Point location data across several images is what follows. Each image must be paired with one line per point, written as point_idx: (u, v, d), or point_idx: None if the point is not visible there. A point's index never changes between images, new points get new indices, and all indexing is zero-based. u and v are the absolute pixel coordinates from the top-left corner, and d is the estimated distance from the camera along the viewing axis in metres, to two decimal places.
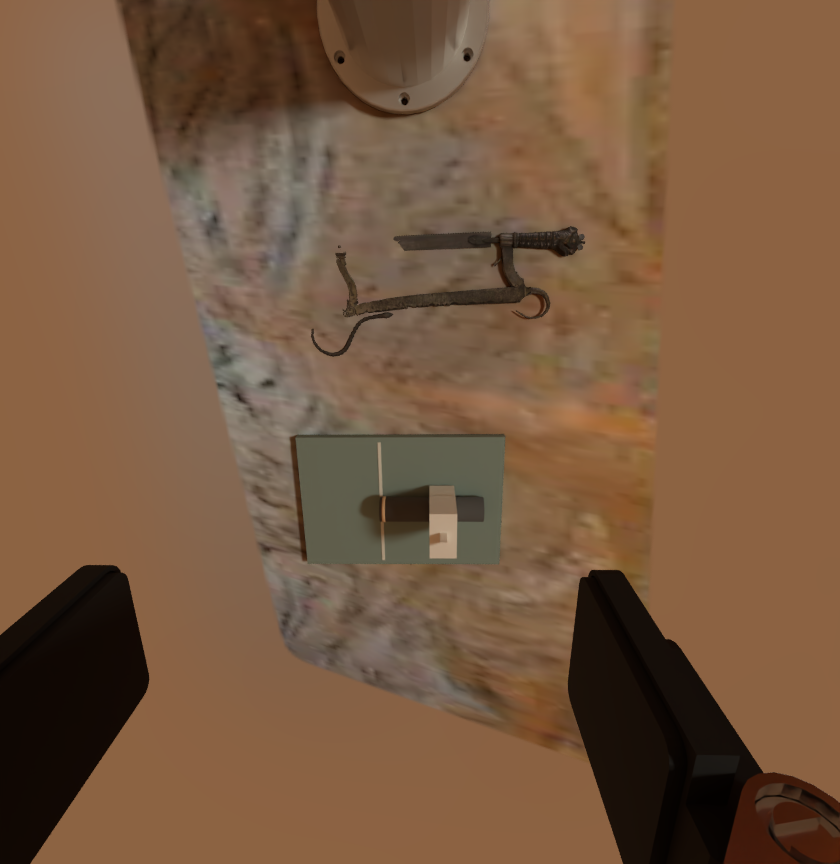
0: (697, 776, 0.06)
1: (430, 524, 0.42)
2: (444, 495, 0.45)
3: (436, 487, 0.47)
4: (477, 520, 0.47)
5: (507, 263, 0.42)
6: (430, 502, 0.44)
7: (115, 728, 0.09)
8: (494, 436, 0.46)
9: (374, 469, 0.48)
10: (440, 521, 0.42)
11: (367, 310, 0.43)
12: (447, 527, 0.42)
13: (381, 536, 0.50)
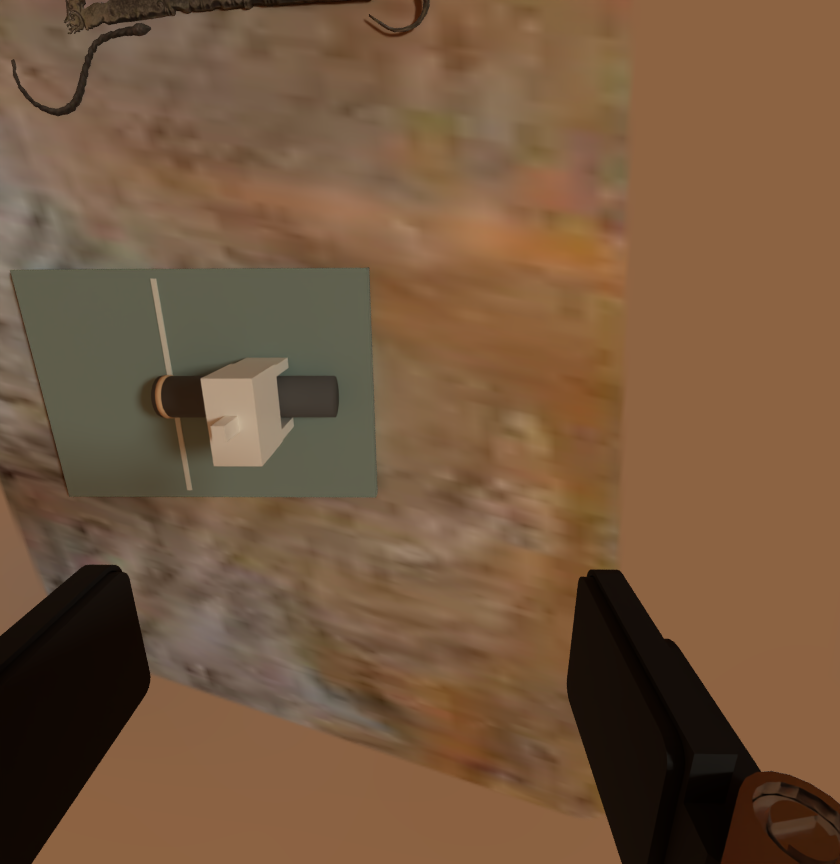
0: (695, 775, 0.06)
1: (205, 399, 0.23)
2: (255, 363, 0.26)
3: (255, 358, 0.28)
4: (321, 413, 0.27)
5: None
6: (221, 369, 0.25)
7: (117, 727, 0.09)
8: None
9: (152, 329, 0.28)
10: (223, 393, 0.23)
11: (103, 18, 0.24)
12: (238, 406, 0.23)
13: (181, 450, 0.31)
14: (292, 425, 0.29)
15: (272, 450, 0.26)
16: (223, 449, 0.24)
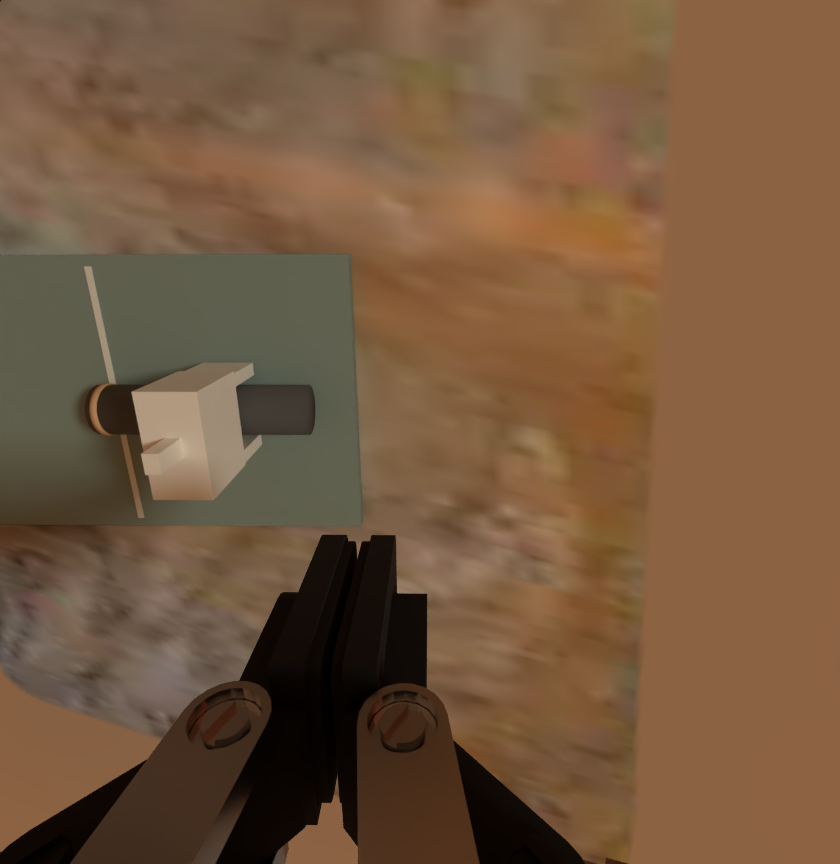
0: (349, 687, 0.07)
1: (139, 417, 0.18)
2: (210, 371, 0.21)
3: (213, 364, 0.23)
4: (293, 430, 0.23)
5: None
6: (164, 378, 0.20)
7: None
8: (326, 254, 0.22)
9: (89, 328, 0.23)
10: (160, 410, 0.18)
11: None
12: (180, 426, 0.18)
13: (130, 471, 0.26)
14: (259, 443, 0.25)
15: (229, 477, 0.21)
16: (164, 479, 0.19)
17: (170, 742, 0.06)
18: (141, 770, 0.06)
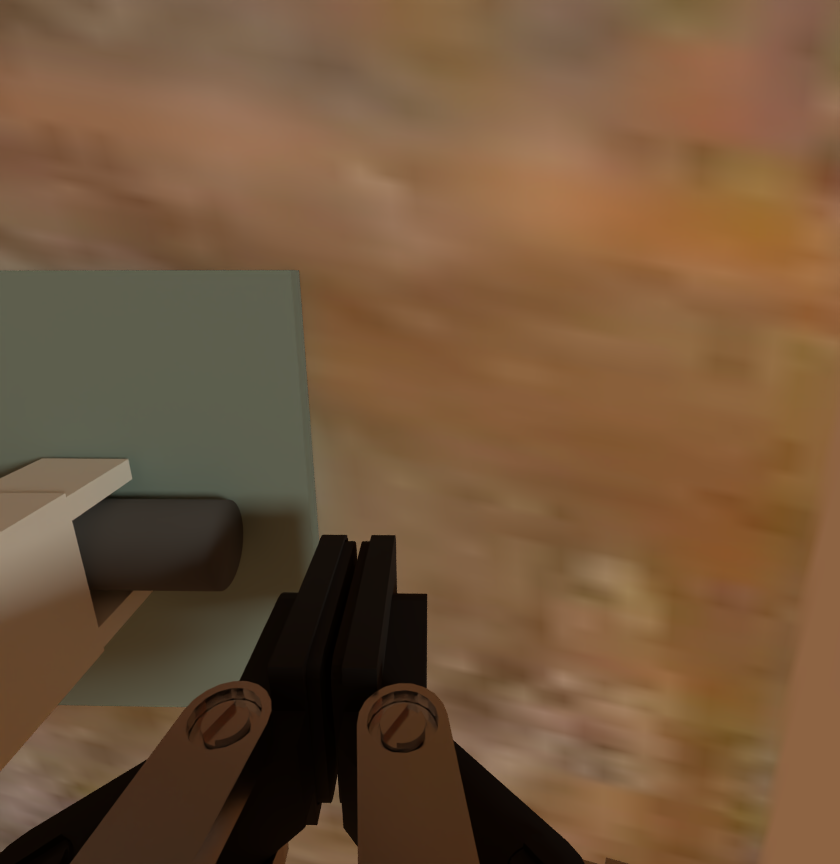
0: (349, 687, 0.07)
1: None
2: (20, 492, 0.11)
3: (56, 463, 0.13)
4: (190, 588, 0.12)
5: None
6: None
7: None
8: (252, 270, 0.12)
9: None
10: None
11: None
12: None
13: None
14: None
15: (47, 707, 0.11)
16: None
17: (170, 742, 0.06)
18: (141, 770, 0.06)
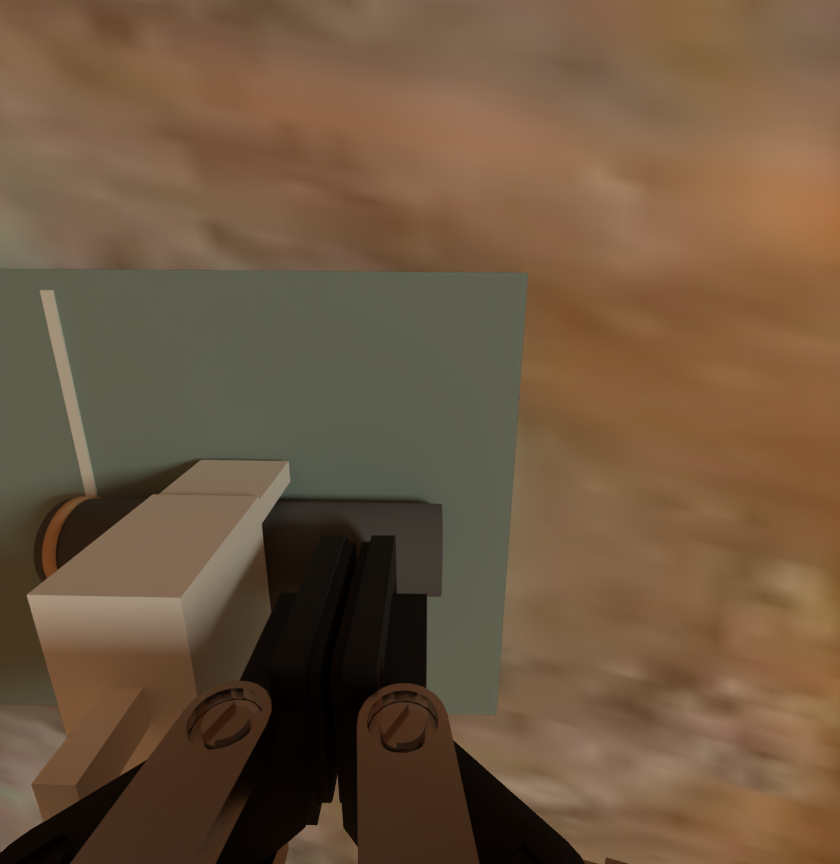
0: (349, 687, 0.07)
1: (46, 647, 0.08)
2: (213, 495, 0.11)
3: (219, 465, 0.13)
4: (417, 593, 0.12)
5: None
6: (118, 525, 0.10)
7: None
8: None
9: (49, 398, 0.13)
10: (97, 633, 0.08)
11: None
12: (143, 666, 0.08)
13: None
14: None
15: None
16: None
17: (170, 742, 0.06)
18: (141, 770, 0.06)
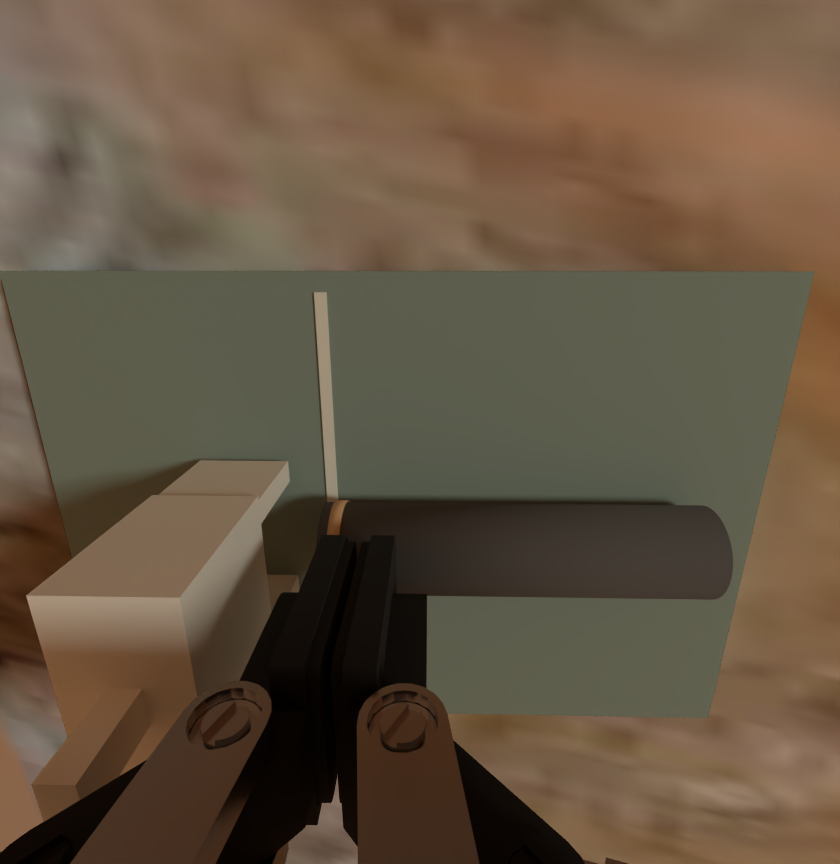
0: (349, 687, 0.07)
1: (46, 648, 0.08)
2: (213, 495, 0.11)
3: (219, 465, 0.13)
4: (695, 596, 0.12)
5: None
6: (118, 525, 0.10)
7: None
8: None
9: (305, 401, 0.13)
10: (96, 633, 0.08)
11: None
12: (142, 666, 0.08)
13: None
14: None
15: None
16: None
17: (170, 742, 0.06)
18: (141, 770, 0.06)
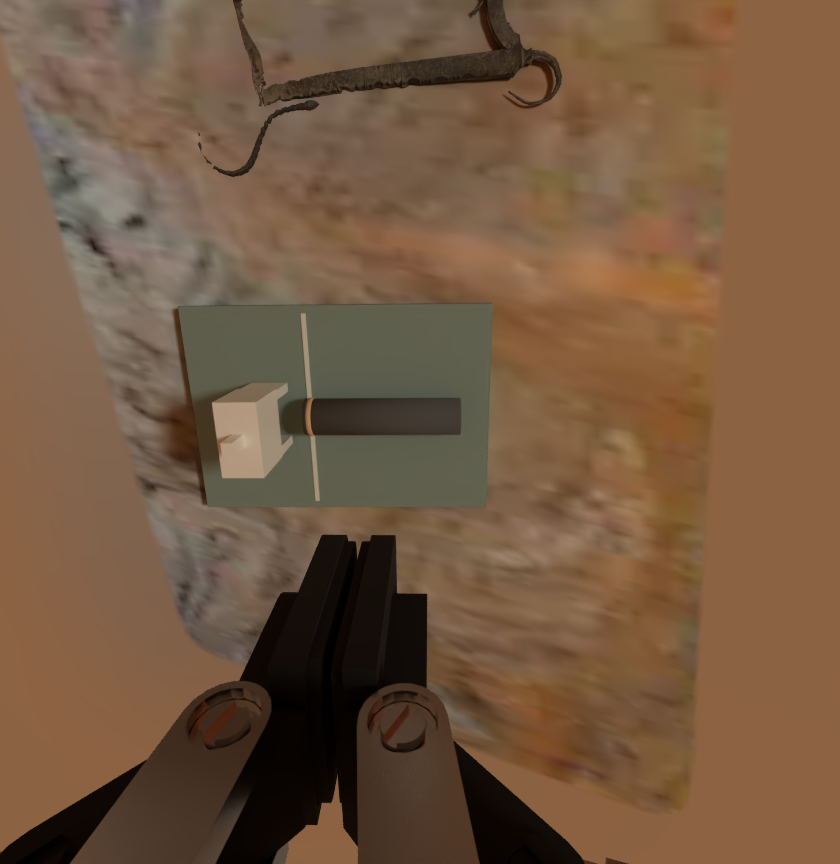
0: (349, 687, 0.07)
1: (215, 420, 0.27)
2: (259, 388, 0.30)
3: (259, 384, 0.32)
4: (451, 430, 0.31)
5: (494, 6, 0.26)
6: (229, 393, 0.28)
7: None
8: (476, 303, 0.31)
9: (297, 357, 0.32)
10: (231, 415, 0.27)
11: (280, 97, 0.28)
12: (243, 426, 0.27)
13: (313, 464, 0.34)
14: (291, 442, 0.33)
15: (273, 464, 0.29)
16: (230, 463, 0.27)
17: (170, 742, 0.06)
18: (141, 770, 0.06)
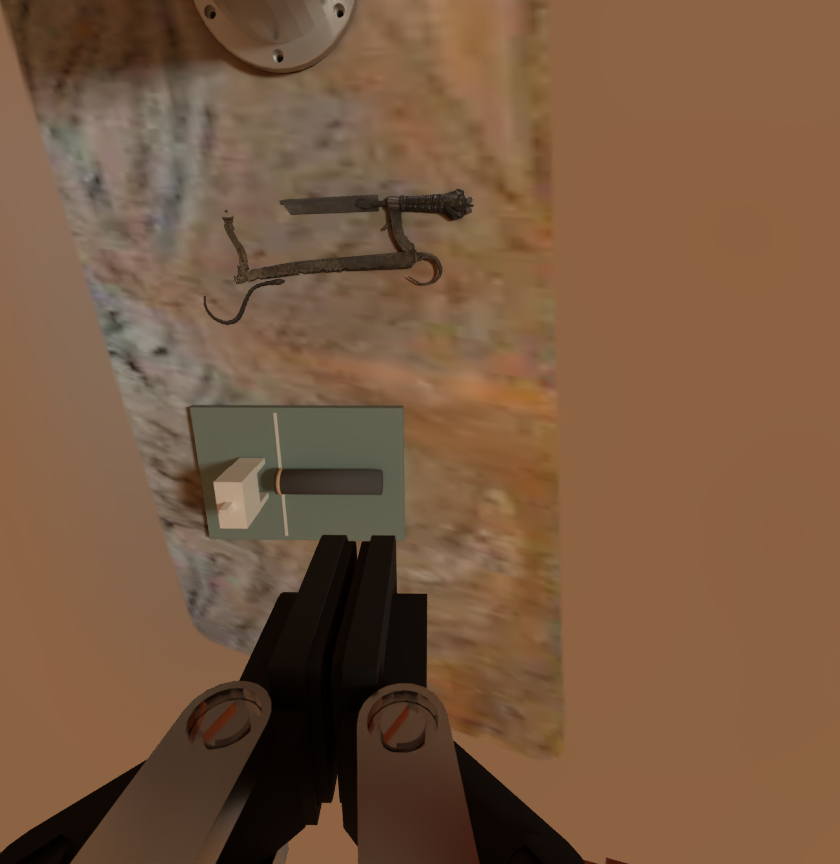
0: (349, 687, 0.07)
1: (215, 492, 0.41)
2: (244, 466, 0.45)
3: (245, 459, 0.47)
4: (374, 493, 0.46)
5: (396, 227, 0.41)
6: (224, 472, 0.43)
7: None
8: (391, 407, 0.46)
9: (271, 441, 0.47)
10: (225, 489, 0.41)
11: (258, 276, 0.43)
12: (233, 496, 0.42)
13: (283, 511, 0.49)
14: (267, 497, 0.48)
15: (253, 517, 0.44)
16: (225, 519, 0.42)
17: (170, 742, 0.06)
18: (141, 770, 0.06)
